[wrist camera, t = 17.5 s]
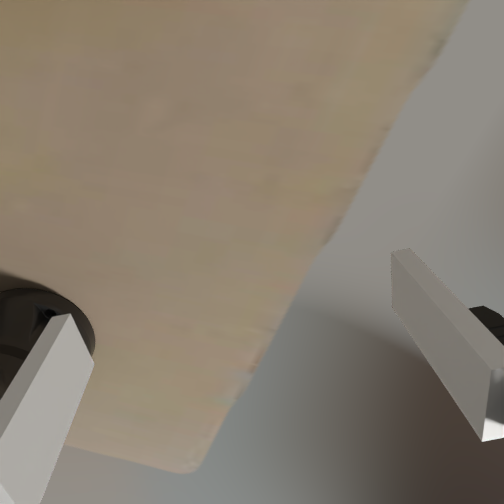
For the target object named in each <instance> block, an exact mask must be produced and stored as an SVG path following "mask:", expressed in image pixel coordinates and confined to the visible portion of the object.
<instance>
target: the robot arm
mask: <svg viewBox="0 0 504 504" xmlns="http://www.w3.org/2000/svg"><path fill="white" fill-rule="evenodd" d="M391 275H392V276H391V277H392V278H391V279H392V308H393V309H394V311H395V313H396V314H397V315H398V317H399V318H400V320H401V322H402V323H403V325H404V326H405V328H406V329H407V331H408V332H409V333H410V335H411V337H412V338H413V340H414V341H415V342H416V344H417V346H418V347H419V348H420V350H421V352H422V353H423V355H424V356H425V357H426V359H427V360H428V362H429V363H430V365H431V366H432V368H433V369H434V371H435V372H436V374H437V375H438V377H439V378H440V380H441V381H442V382H443V384H444V386H445V387H446V389H447V390H448V392H449V393H450V395H451V396H452V397H453V399H454V401H455V402H456V404H457V405H458V407H459V408H460V410H461V411H462V412H463V414H464V416H465V417H466V418H467V420H468V421H469V423H470V424H471V426H472V427H473V429H474V430H475V432H476V433H477V435H478V436H479V438H480V439H481V441H482V442H483V441H488V440H493V439H499V438H504V318H503V317H502V316H501V315H500V314H499V313H496V312H495V311H493V310H491V309H489V308H487V307H485V306H479V307H474V308H469V309H468V308H467V307H466V306H465V305H464V304H463V303H462V302H461V301H460V300H459V299H458V298H457V297H456V296H455V295H454V294H453V293H452V291H451V290H450V289H449V288H448V287H447V286H446V285H445V284H444V283H443V282H442V281H441V280H440V279H439V278H438V277H437V276H436V275H435V274H434V273H433V272H432V271H431V270H430V269H429V268H428V267H427V265H425V263H424V262H423V261H422V260H421V259H420V258H419V257H418V256H417V255H416V254H415V253H414V252H413V251H412V250H411V249H410V248H408V249H403V250H398V251H393V252H391ZM94 349H95V335H94V331H93V328H92V326H91V324H90V322H89V321H88V319H87V318H86V316H85V315H84V314H83V313H82V312H81V311H80V310H79V309H78V308H77V307H76V306H75V305H73V304H72V303H70V302H69V301H67V300H66V299H64V298H62V297H60V296H58V295H55V294H53V293H50V292H47V291H43V290H37V289H27V288H22V289H13V290H8V291H5V292H2V293H0V504H40V502H41V499H42V497H43V494H44V492H45V489H46V487H47V484H48V482H49V479H50V477H51V474H52V472H53V469H54V467H55V464H56V461H57V459H58V456H59V453H60V451H61V449H62V446H63V444H64V441H65V438H66V436H67V433H68V431H69V428H70V426H71V423H72V421H73V418H74V415H75V413H76V410H77V408H78V405H79V403H80V400H81V398H82V395H83V392H84V390H85V387H86V385H87V382H88V380H89V377H90V375H91V372H92V369H93V367H94V362H93V360H92V358H91V357H92V355H93V352H94Z"/></svg>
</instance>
